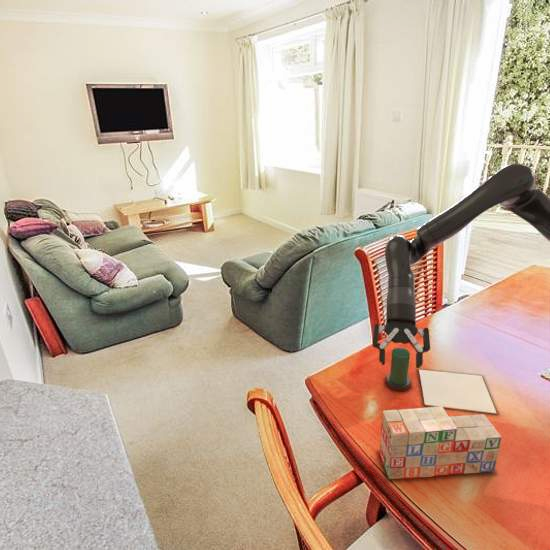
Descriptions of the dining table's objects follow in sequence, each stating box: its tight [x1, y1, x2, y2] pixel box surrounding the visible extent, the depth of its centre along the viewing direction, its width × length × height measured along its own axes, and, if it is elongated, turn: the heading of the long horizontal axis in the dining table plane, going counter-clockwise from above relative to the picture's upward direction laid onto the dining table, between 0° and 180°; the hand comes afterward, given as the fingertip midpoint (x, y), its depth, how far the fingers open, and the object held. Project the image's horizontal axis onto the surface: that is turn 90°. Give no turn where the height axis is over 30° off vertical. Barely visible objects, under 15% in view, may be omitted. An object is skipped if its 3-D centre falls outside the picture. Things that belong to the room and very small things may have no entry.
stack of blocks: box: [379, 406, 502, 480], centre depth 75 cm, size 21×6×12 cm, turn 92°
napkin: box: [418, 369, 498, 415], centre depth 97 cm, size 16×14×1 cm
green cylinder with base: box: [385, 347, 411, 392], centre depth 98 cm, size 6×6×10 cm
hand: (400, 366), depth 96 cm, fingers open, 8 cm apart
